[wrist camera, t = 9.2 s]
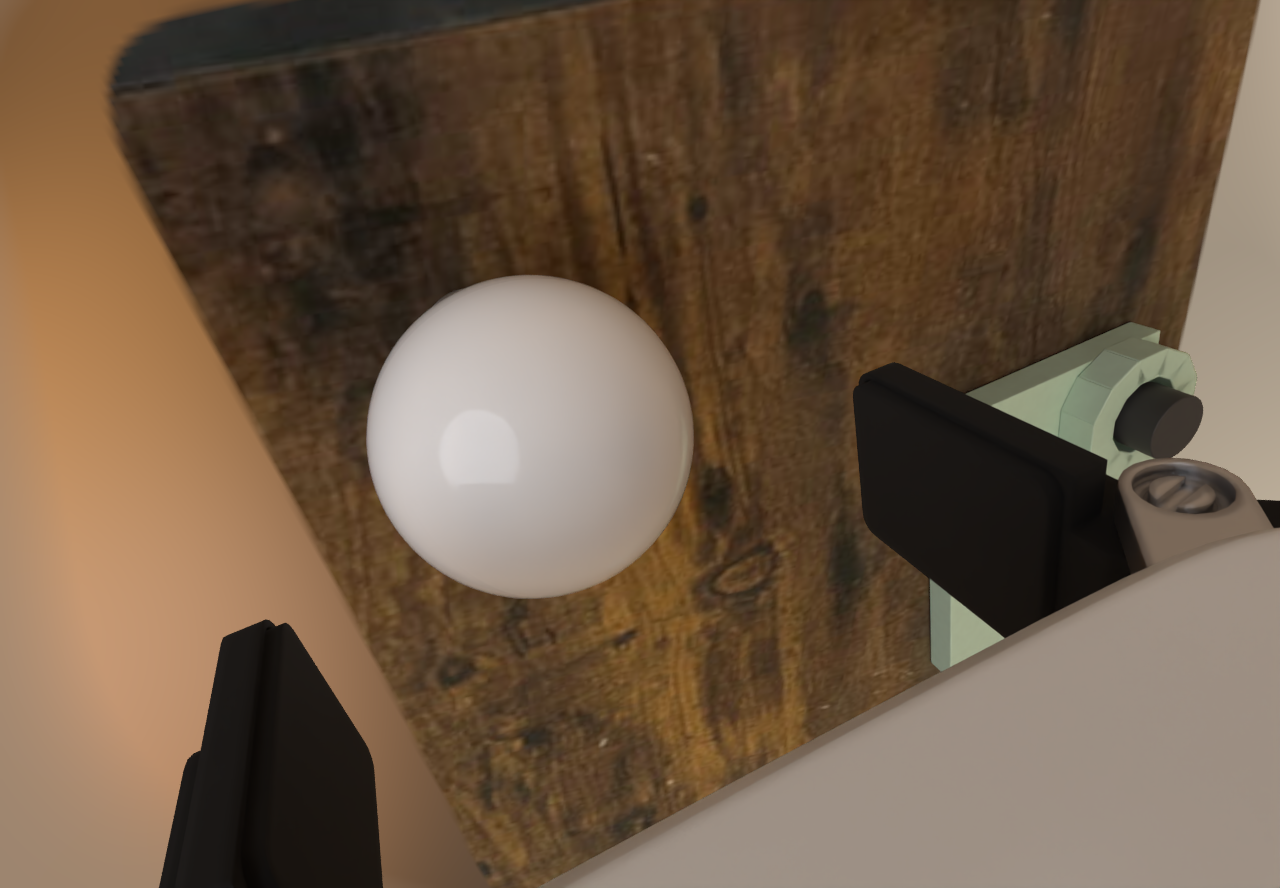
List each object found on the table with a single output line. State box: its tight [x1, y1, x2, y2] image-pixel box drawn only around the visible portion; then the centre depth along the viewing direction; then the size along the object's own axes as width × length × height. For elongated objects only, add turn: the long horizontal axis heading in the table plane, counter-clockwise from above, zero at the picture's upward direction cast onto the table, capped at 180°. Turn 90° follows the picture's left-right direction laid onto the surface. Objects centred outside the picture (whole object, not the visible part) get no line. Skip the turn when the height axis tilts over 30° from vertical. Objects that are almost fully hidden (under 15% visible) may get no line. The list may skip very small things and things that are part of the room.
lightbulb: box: [366, 275, 694, 599], centre depth 17 cm, size 6×6×11 cm
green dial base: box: [930, 322, 1197, 672], centre depth 33 cm, size 15×11×3 cm
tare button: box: [1113, 382, 1203, 459], centre depth 30 cm, size 3×3×2 cm
